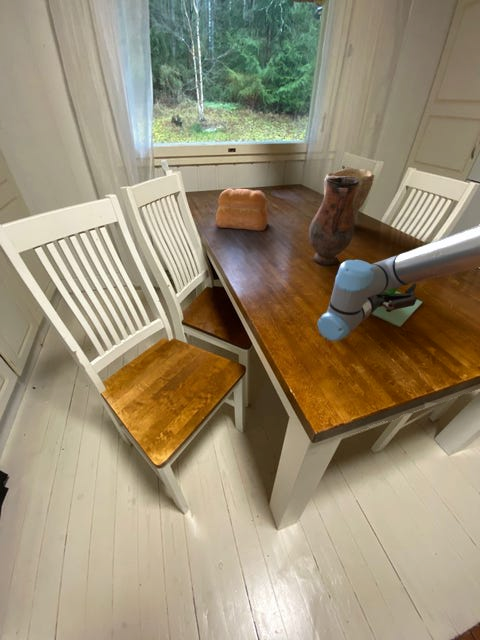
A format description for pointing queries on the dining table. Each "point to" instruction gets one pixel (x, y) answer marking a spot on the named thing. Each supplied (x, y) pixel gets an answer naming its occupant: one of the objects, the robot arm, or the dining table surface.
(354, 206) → the tan flared vase
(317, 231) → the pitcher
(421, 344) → the dining table surface
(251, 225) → the bread
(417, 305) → the cloth
